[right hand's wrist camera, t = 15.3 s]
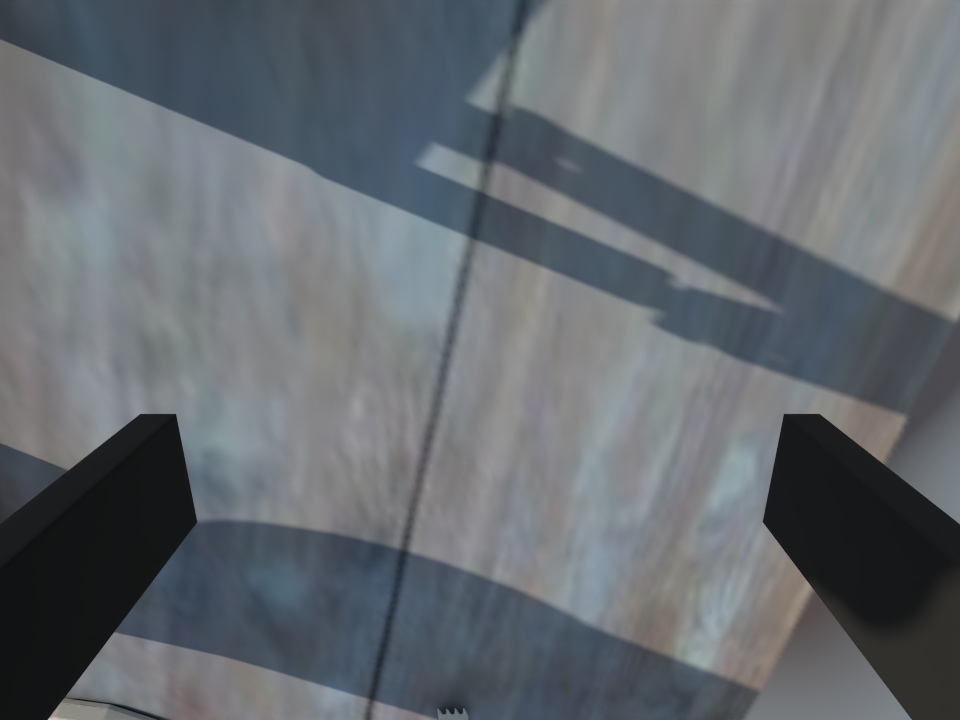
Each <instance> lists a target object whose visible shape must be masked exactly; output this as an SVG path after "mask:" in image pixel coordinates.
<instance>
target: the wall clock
mask: <svg viewBox="0 0 960 720" xmlns="http://www.w3.org/2000/svg"><path fill="white" fill-rule="evenodd" d="M48 720H156V719H153V718H150V717H147V716H144V715H141V714H138V713H135V712H132V711H129V710H126V709H123V708H119V707H116V706H113V705H109V704H102V703H95V702H87V701H80V700H73V699H65V698H64V699H63V700H62V702H61V703H60V704H59V706H58V707H57V708H56V710H55V711H54V712H53V714H52V715H51V716H50V718H49V719H48Z"/></svg>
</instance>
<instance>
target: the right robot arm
mask: <svg viewBox="0 0 960 720" xmlns="http://www.w3.org/2000/svg"><path fill="white" fill-rule="evenodd" d="M196 523H197V519H196V514H195V508H194V503H193V498H192V493H191V488H190V483H189V478H188V473H187V468H186V463H185V458H184V452H183V447H182V442H181V437H180V432H179V427H178V422H177V417H176V414H140V415H139V416H137V417H136V418H135V419H134V420H132V421H131V422H130V423H128V424H127V425H126V426H125V427H123V428H122V429H121V430H120V431H118V432H117V433H116V434H115V435H113V436H112V437H111V438H109V439H108V440H107V441H106V442H104V443H103V444H102V445H101V446H99V447H98V448H97V449H95V450H94V451H93V452H92V453H90V454H89V455H88V456H87V457H85V458H84V459H83V460H81V461H80V462H79V463H78V464H76V465H75V466H74V467H73V468H71V469H70V470H69V471H67V472H66V473H65V474H64V475H62V476H61V477H60V478H59V479H57V480H56V481H55V482H53V483H52V484H51V485H50V486H48V487H47V488H46V489H45V490H43V491H42V492H41V493H39V494H38V495H37V496H36V497H34V498H33V499H32V500H31V501H29V502H28V503H27V504H25V505H24V506H23V507H22V508H20V509H19V510H18V511H17V512H15V513H14V514H13V515H11V516H10V517H9V518H8V519H6V520H5V521H4V522H3V523H1V524H0V720H48V719H49V718H50V716H51V715H52V714H53V712H54V711H55V710H56V708H57V707H58V706H59V704H60V703H61V702H62V700H63V699H64V698H65V696H66V695H67V694H68V692H69V691H70V690H71V688H72V687H73V686H74V684H75V683H76V682H77V680H78V679H79V678H80V677H81V675H82V674H83V673H84V671H85V670H86V669H87V667H88V666H89V665H90V663H91V662H92V661H93V659H94V658H95V657H96V655H97V654H98V653H99V651H100V650H101V649H102V647H103V646H104V645H105V643H106V642H107V641H108V639H109V638H110V637H111V635H112V634H113V633H114V631H115V630H116V629H117V627H118V626H119V625H120V624H121V622H122V621H123V620H124V618H125V617H126V616H127V614H128V613H129V612H130V610H131V609H132V608H133V606H134V605H135V604H136V602H137V601H138V600H139V598H140V597H141V596H142V594H143V593H144V592H145V590H146V589H147V588H148V586H149V585H150V584H151V582H152V581H153V580H154V578H155V577H156V576H157V574H158V573H159V572H160V571H161V569H162V568H163V567H164V565H165V564H166V563H167V561H168V560H169V559H170V557H171V556H172V555H173V553H174V552H175V551H176V549H177V548H178V547H179V545H180V544H181V543H182V541H183V540H184V539H185V537H186V536H187V535H188V533H189V532H190V531H191V529H192V528H193V527H194V525H195V524H196ZM763 523H764V524H765V525H766V527H767V528H768V529H769V531H770V532H771V533H772V535H773V536H774V537H775V539H776V540H777V541H778V543H779V544H780V545H781V547H782V548H783V549H784V551H785V552H786V553H787V555H788V556H789V557H790V559H791V560H792V561H793V563H794V564H795V565H796V567H797V568H798V569H799V571H800V572H801V573H802V574H803V576H804V577H805V578H806V580H807V581H808V582H809V584H810V585H811V586H812V588H813V589H814V590H815V592H816V593H817V594H818V596H819V597H820V598H821V600H822V601H823V602H824V604H825V605H826V606H827V608H828V609H829V610H830V612H831V613H832V614H833V616H834V617H835V618H836V620H837V621H838V622H839V623H840V625H841V626H842V627H843V629H844V630H845V631H846V633H847V634H848V635H849V637H850V638H851V639H852V641H853V642H854V643H855V645H856V646H857V647H858V649H859V650H860V651H861V653H862V654H863V655H864V657H865V658H866V659H867V661H868V662H869V663H870V665H871V666H872V667H873V669H874V670H875V671H876V673H877V674H878V675H879V676H880V678H881V679H882V680H883V682H884V683H885V684H886V686H887V687H888V688H889V690H890V691H891V692H892V694H893V695H894V696H895V698H896V699H897V700H898V702H899V703H900V704H901V706H902V707H903V708H904V710H905V711H906V712H907V714H908V715H909V716H910V718H911V719H912V720H960V524H959V523H957V522H956V521H955V520H954V519H952V518H951V517H950V516H949V515H947V514H946V513H945V512H943V511H942V510H941V509H940V508H938V507H937V506H936V505H935V504H933V503H932V502H931V501H929V500H928V499H927V498H926V497H924V496H923V495H922V494H921V493H919V492H918V491H917V490H915V489H914V488H913V487H912V486H910V485H909V484H908V483H906V482H905V481H904V480H903V479H901V478H900V477H899V476H898V475H896V474H895V473H894V472H893V471H891V470H890V469H889V468H887V467H886V466H885V465H884V464H882V463H881V462H880V461H879V460H877V459H876V458H875V457H873V456H872V455H871V454H870V453H868V452H867V451H866V450H865V449H863V448H862V447H861V446H859V445H858V444H857V443H856V442H854V441H853V440H852V439H851V438H849V437H848V436H847V435H845V434H844V433H843V432H842V431H840V430H839V429H838V428H837V427H835V426H834V425H833V424H832V423H830V422H829V421H828V420H826V419H825V418H824V417H823V416H821V415H820V414H784V417H783V422H782V427H781V432H780V437H779V442H778V447H777V452H776V458H775V463H774V468H773V473H772V478H771V483H770V488H769V493H768V498H767V503H766V508H765V514H764V519H763Z"/></svg>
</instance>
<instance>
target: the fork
mask: <svg viewBox="0 0 960 720" xmlns="http://www.w3.org/2000/svg"><path fill="white" fill-rule="evenodd" d="M437 712H438V720H468V718H469V717H468V714H467V712H466V710H465V709H464V708H463V714H460V713H459V712H458V711H457V709H456V708H455V713H454V714H451V713H450V712H449V710H448V709H447V708H446V714H442V712H441V711H440V710H439V709H437Z"/></svg>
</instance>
